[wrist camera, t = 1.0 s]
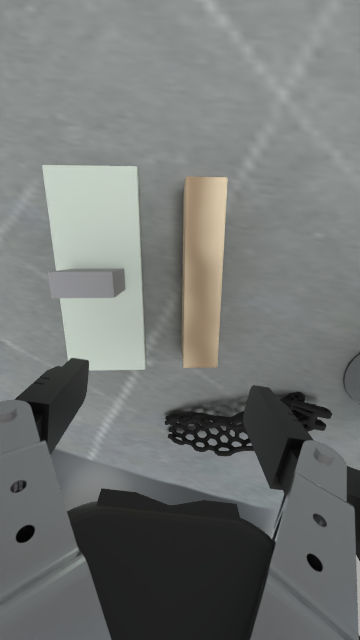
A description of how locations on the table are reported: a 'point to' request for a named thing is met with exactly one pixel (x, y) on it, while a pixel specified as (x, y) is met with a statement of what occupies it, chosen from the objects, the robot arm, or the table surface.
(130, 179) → the fulcrum
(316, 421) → the decorative element
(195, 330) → the plank
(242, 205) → the table surface
